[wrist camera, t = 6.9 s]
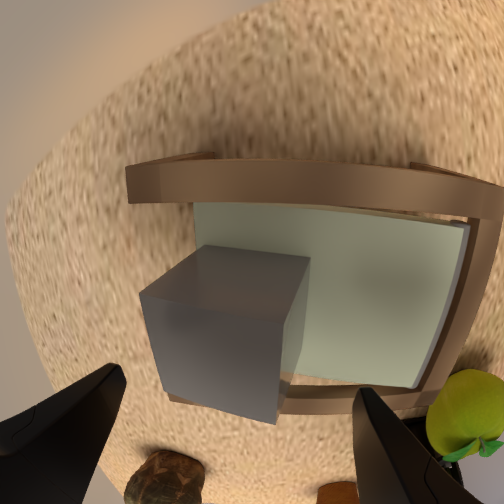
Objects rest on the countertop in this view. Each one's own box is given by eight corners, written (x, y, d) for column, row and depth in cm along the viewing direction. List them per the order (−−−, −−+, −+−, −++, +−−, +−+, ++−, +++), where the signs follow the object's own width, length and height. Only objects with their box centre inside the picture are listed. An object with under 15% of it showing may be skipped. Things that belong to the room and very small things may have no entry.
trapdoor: (466, 221, 10) (474, 227, 9) (417, 377, 14) (418, 389, 13) (203, 194, 14) (192, 199, 13) (214, 345, 17) (207, 355, 16)
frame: (429, 165, 16) (507, 188, 8) (398, 327, 21) (432, 404, 13) (191, 153, 18) (125, 166, 10) (204, 321, 23) (169, 400, 15)
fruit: (452, 411, 25) (475, 472, 16) (401, 405, 25) (422, 481, 15) (500, 356, 21) (538, 417, 12) (454, 342, 21) (498, 419, 12)
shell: (129, 439, 34) (101, 500, 23) (193, 448, 32) (171, 521, 21) (160, 471, 37) (141, 524, 26) (218, 479, 35) (204, 539, 24)
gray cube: (311, 257, 12) (283, 324, 8) (301, 348, 14) (275, 424, 10) (204, 244, 14) (138, 293, 9) (211, 329, 16) (163, 390, 11)
